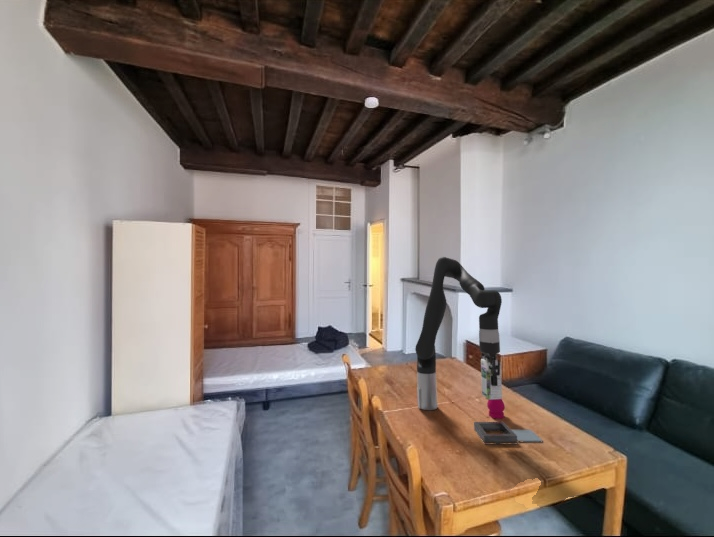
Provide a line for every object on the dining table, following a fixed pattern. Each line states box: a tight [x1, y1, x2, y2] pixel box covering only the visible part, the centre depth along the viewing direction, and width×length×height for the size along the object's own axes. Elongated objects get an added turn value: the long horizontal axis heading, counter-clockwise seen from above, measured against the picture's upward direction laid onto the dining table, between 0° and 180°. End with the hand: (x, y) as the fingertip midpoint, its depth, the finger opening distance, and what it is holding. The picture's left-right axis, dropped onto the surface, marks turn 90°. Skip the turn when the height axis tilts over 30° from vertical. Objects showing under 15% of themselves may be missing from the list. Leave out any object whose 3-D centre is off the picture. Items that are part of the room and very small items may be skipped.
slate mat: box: [511, 429, 544, 443], centre depth 119 cm, size 9×9×1 cm
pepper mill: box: [486, 379, 506, 420], centre depth 139 cm, size 7×7×20 cm
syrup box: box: [480, 358, 503, 400], centre depth 121 cm, size 6×6×14 cm
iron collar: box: [473, 421, 518, 445], centre depth 120 cm, size 12×12×3 cm
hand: (491, 382), depth 121 cm, fingers closed on syrup box, 6 cm apart
